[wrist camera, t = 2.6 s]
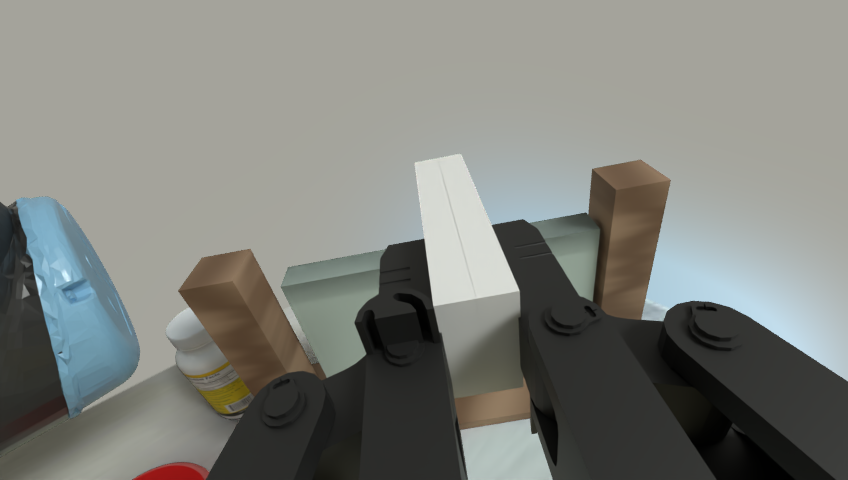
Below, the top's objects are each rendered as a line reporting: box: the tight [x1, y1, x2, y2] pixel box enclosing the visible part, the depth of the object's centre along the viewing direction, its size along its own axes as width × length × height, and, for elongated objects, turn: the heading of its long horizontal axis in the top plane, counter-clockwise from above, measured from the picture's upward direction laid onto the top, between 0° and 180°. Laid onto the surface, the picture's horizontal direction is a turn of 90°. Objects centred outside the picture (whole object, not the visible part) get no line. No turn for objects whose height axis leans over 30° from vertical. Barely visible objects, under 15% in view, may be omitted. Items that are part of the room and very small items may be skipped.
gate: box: [281, 213, 600, 378], centre depth 27 cm, size 20×2×12 cm, turn 94°
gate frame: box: [178, 160, 671, 430], centre depth 27 cm, size 27×8×17 cm, turn 94°
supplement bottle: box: [166, 307, 254, 419], centre depth 32 cm, size 5×5×10 cm
